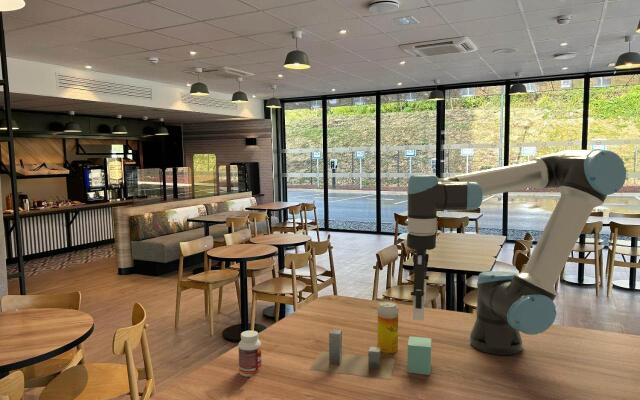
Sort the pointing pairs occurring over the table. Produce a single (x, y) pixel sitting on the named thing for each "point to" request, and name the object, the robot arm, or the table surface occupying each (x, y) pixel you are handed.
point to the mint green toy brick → (419, 355)
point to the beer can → (387, 327)
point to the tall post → (335, 347)
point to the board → (353, 366)
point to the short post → (374, 358)
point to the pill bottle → (249, 353)
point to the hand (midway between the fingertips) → (419, 310)
